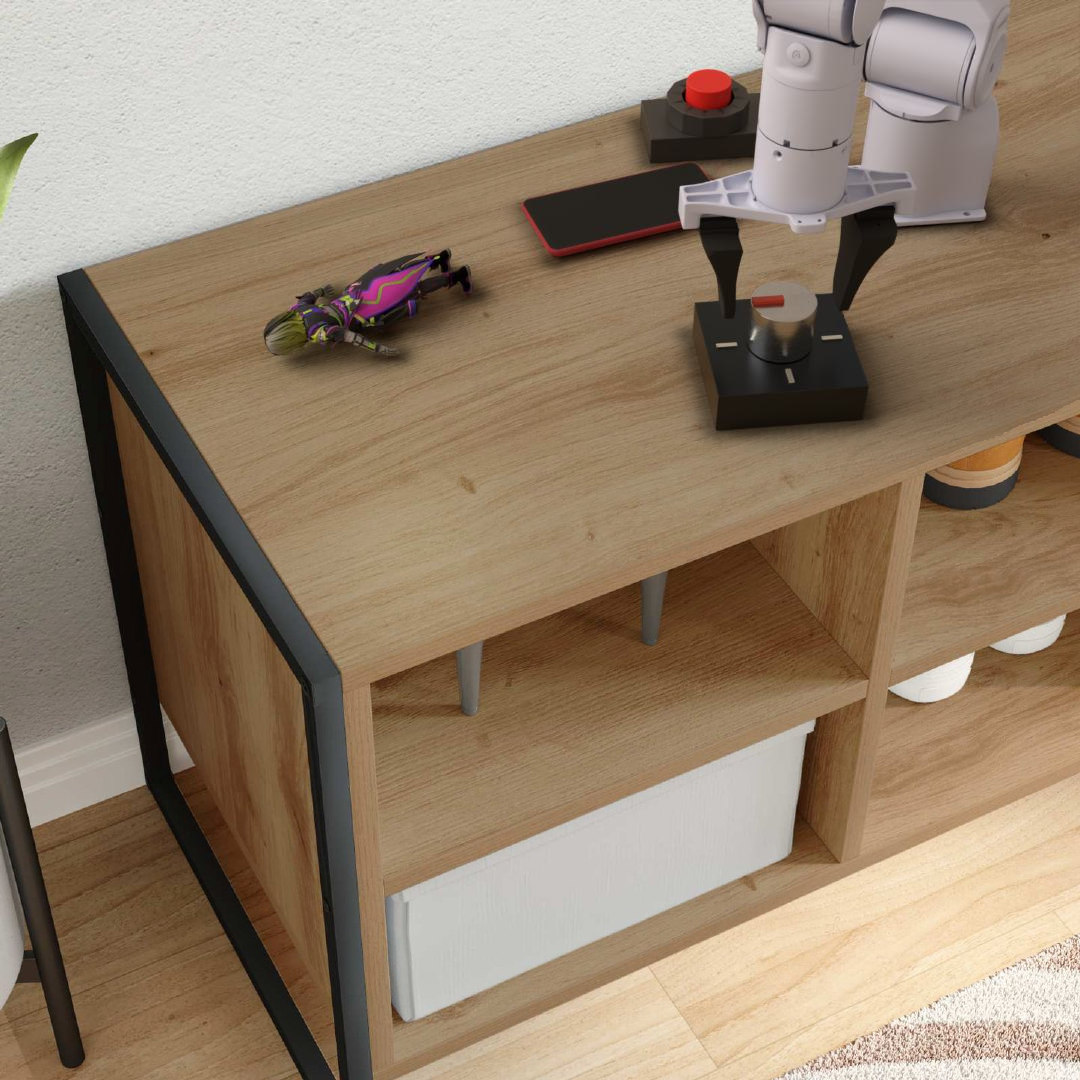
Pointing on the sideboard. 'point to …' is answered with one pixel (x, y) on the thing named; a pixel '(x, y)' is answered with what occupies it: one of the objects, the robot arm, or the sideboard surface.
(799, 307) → the dimmer knob
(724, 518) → the sideboard surface
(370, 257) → the sideboard surface
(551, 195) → the smartphone
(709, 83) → the light button
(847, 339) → the dimmer panel
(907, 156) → the robot arm
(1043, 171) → the sideboard surface
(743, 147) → the light switch
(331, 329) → the character figure
